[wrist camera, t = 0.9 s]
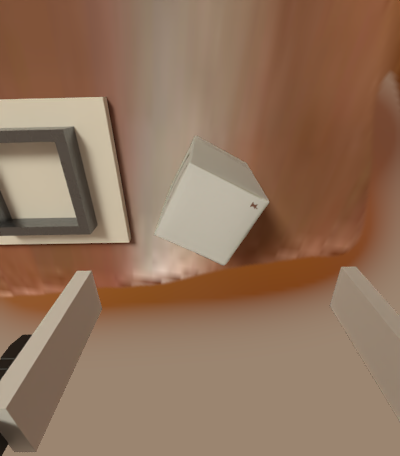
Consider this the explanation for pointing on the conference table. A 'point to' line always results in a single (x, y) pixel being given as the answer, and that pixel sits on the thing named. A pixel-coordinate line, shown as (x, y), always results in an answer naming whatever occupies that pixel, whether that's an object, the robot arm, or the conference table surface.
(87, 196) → the collar
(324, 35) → the conference table surface
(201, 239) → the supplement box
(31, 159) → the base plate
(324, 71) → the conference table surface
